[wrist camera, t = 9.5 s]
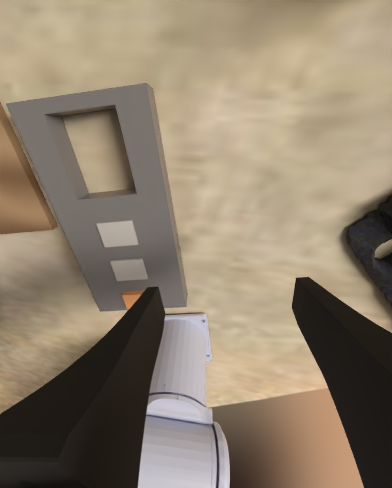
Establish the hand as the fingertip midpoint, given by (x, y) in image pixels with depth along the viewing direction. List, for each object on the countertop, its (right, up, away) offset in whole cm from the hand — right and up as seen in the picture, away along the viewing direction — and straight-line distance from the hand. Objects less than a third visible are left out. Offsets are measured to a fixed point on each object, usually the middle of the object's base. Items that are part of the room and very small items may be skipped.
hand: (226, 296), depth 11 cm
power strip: (-9, +5, +9) cm, 14 cm away
